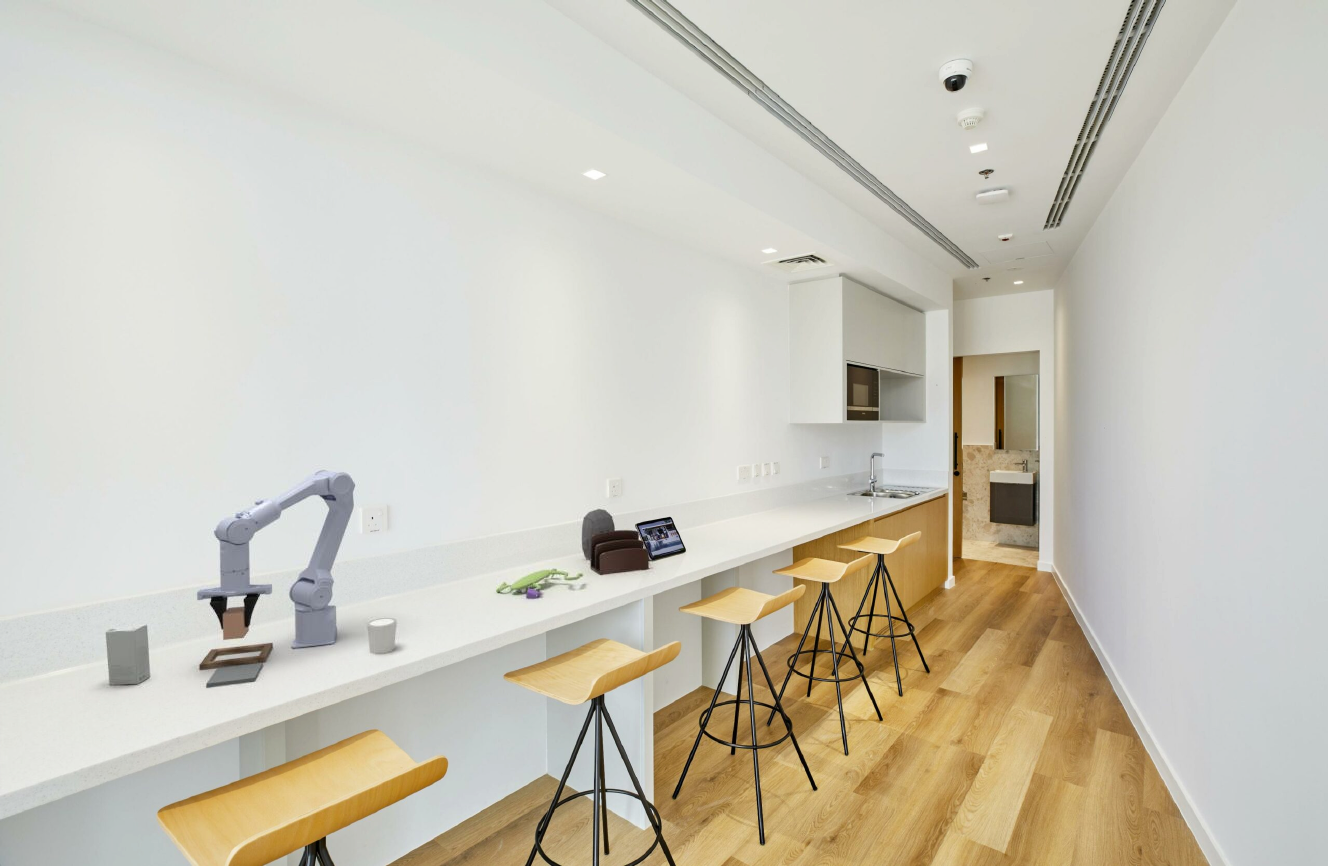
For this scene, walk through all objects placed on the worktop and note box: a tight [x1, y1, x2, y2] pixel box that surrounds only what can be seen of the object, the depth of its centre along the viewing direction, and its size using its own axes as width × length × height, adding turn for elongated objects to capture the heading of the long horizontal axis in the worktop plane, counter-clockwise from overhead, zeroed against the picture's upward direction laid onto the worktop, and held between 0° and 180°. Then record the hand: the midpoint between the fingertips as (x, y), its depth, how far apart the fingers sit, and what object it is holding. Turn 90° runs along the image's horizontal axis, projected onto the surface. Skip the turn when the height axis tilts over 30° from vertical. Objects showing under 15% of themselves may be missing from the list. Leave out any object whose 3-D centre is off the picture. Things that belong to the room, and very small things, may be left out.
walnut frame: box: [199, 642, 274, 671], centre depth 157 cm, size 13×10×1 cm
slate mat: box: [205, 662, 264, 688], centre depth 146 cm, size 9×9×1 cm
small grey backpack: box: [581, 508, 616, 560], centre depth 261 cm, size 15×8×20 cm, turn 130°
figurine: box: [495, 568, 584, 599], centre depth 218 cm, size 18×27×6 cm
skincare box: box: [105, 624, 151, 686], centre depth 143 cm, size 6×4×12 cm
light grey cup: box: [366, 617, 398, 655], centre depth 163 cm, size 7×7×7 cm
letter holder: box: [589, 529, 650, 576], centre depth 245 cm, size 10×20×14 cm, turn 117°
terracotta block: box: [222, 606, 250, 641], centre depth 152 cm, size 4×5×6 cm
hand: (235, 627), depth 152 cm, fingers closed on terracotta block, 4 cm apart
